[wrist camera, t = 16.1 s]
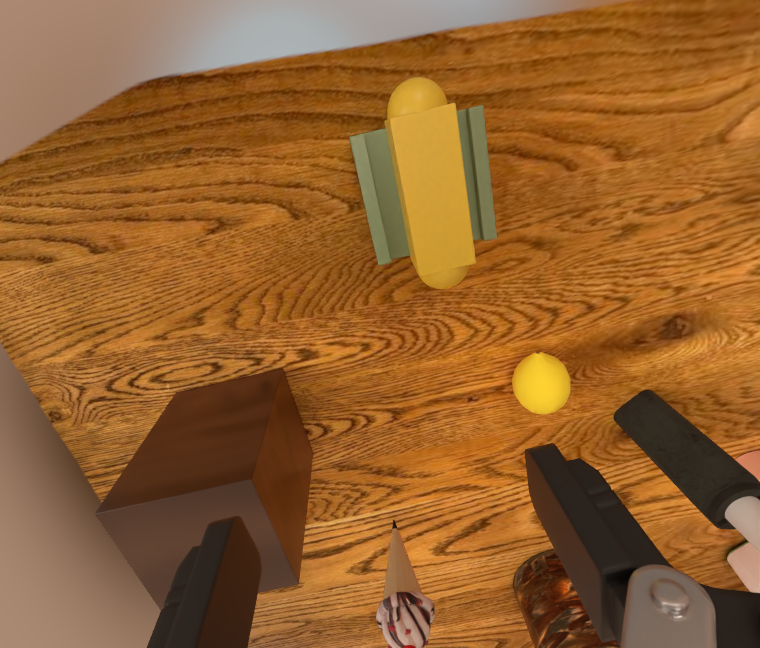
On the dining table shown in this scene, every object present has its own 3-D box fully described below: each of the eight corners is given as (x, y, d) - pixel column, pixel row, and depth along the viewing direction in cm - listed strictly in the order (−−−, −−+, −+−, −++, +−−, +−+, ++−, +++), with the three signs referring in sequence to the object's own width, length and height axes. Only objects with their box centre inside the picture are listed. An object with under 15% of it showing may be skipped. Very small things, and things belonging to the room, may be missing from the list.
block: (349, 137, 34) (349, 136, 28) (458, 110, 34) (483, 104, 28) (373, 244, 38) (378, 265, 32) (472, 221, 38) (497, 238, 31)
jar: (502, 605, 60) (549, 745, 46) (524, 546, 55) (583, 682, 41) (581, 606, 61) (649, 742, 47) (608, 549, 56) (692, 681, 43)
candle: (671, 411, 48) (968, 663, 25) (633, 439, 49) (883, 703, 26) (648, 386, 46) (943, 630, 23) (609, 415, 47) (853, 674, 25)
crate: (175, 392, 42) (94, 514, 29) (282, 368, 42) (251, 479, 28) (216, 474, 47) (162, 613, 33) (313, 453, 47) (299, 584, 33)
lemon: (556, 391, 46) (581, 422, 41) (506, 402, 46) (526, 434, 41) (554, 334, 43) (581, 359, 38) (501, 345, 43) (521, 372, 38)
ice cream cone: (426, 519, 52) (454, 656, 38) (391, 543, 53) (407, 685, 39) (395, 495, 50) (413, 630, 36) (360, 521, 51) (365, 661, 37)
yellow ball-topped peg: (377, 89, 28) (382, 82, 24) (437, 74, 28) (451, 65, 24) (415, 285, 33) (424, 302, 30) (465, 273, 33) (479, 289, 30)
